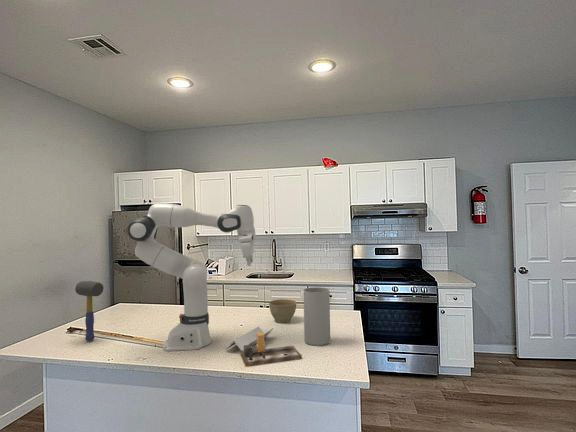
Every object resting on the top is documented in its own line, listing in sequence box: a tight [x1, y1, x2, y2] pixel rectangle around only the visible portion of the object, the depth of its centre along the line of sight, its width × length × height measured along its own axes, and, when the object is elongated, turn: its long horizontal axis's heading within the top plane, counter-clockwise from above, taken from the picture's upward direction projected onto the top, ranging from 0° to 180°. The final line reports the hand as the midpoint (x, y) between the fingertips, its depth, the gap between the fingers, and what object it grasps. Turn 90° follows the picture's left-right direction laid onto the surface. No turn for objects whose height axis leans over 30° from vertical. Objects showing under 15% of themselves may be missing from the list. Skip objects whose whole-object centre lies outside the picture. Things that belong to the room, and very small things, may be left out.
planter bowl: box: [268, 298, 297, 324], centre depth 202 cm, size 16×16×11 cm
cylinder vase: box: [303, 286, 331, 347], centre depth 166 cm, size 12×12×25 cm
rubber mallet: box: [74, 280, 104, 343], centre depth 173 cm, size 12×8×30 cm, turn 69°
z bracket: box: [225, 326, 275, 352], centre depth 164 cm, size 12×25×6 cm
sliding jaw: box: [255, 332, 266, 358], centre depth 147 cm, size 3×9×8 cm, turn 17°
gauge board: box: [240, 345, 303, 367], centre depth 148 cm, size 24×12×5 cm, turn 107°
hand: (250, 264), depth 172 cm, fingers open, 8 cm apart
